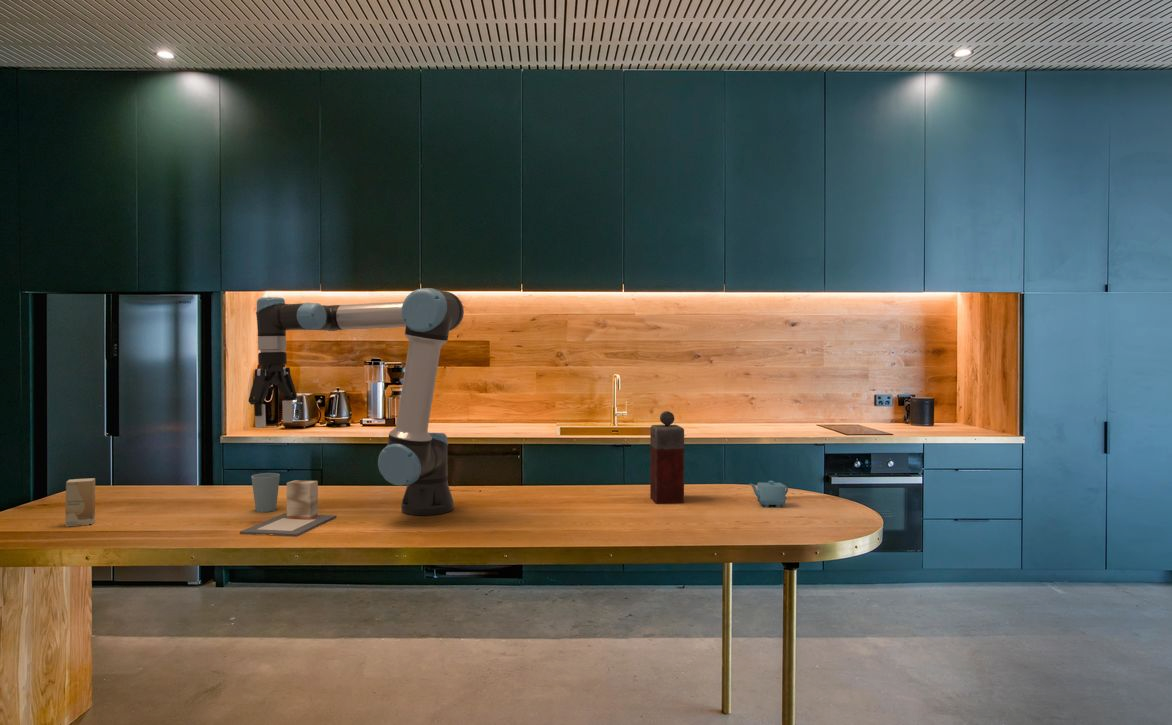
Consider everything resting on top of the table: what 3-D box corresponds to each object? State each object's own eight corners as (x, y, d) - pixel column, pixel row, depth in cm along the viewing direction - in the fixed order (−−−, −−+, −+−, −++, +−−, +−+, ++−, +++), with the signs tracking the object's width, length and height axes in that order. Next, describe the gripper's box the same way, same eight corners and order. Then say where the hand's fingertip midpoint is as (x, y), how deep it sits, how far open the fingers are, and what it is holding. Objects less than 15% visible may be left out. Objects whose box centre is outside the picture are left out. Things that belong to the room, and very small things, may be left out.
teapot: (750, 507, 215) (750, 482, 214) (746, 503, 221) (746, 478, 220) (790, 508, 214) (790, 483, 214) (785, 503, 220) (785, 479, 220)
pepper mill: (676, 495, 231) (676, 409, 231) (684, 503, 220) (684, 412, 219) (648, 496, 230) (648, 409, 230) (655, 503, 219) (655, 412, 219)
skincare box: (65, 527, 191) (64, 482, 191) (68, 523, 195) (67, 479, 195) (94, 524, 194) (93, 480, 194) (96, 521, 198) (95, 477, 198)
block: (317, 516, 201) (317, 481, 201) (310, 519, 197) (310, 483, 197) (294, 515, 202) (294, 480, 202) (286, 518, 198) (286, 482, 198)
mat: (336, 517, 202) (336, 515, 202) (296, 536, 183) (296, 533, 183) (284, 515, 205) (284, 513, 205) (239, 533, 185) (239, 531, 185)
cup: (280, 511, 209) (279, 476, 209) (251, 514, 206) (251, 478, 206) (280, 506, 216) (279, 472, 216) (252, 508, 213) (251, 474, 213)
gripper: (284, 351, 219) (287, 420, 219) (232, 352, 194) (235, 430, 194) (307, 350, 217) (309, 420, 218) (258, 351, 193) (260, 430, 193)
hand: (274, 425), depth 206 cm, fingers open, 13 cm apart
